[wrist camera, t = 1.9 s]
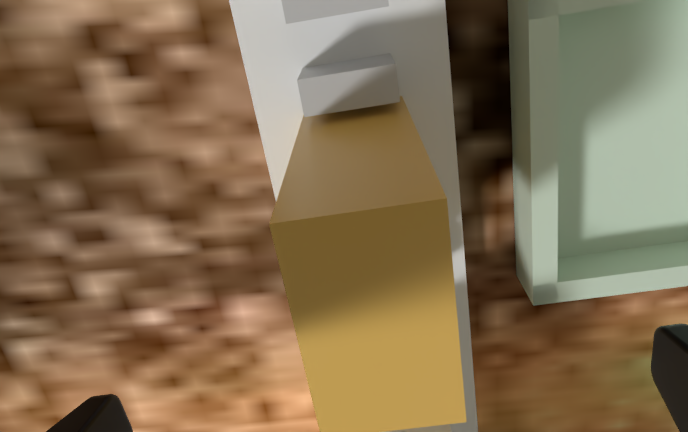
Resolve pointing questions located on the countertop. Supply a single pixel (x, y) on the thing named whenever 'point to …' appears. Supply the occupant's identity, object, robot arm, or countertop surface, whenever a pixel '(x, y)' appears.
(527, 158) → the tray
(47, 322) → the countertop surface
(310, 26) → the block
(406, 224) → the block
